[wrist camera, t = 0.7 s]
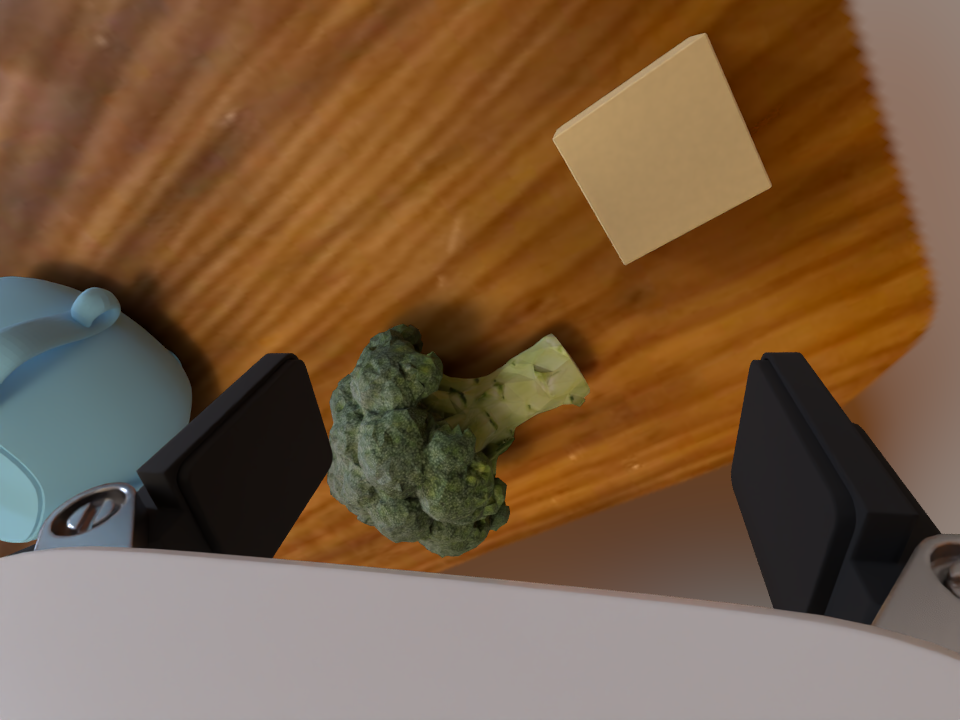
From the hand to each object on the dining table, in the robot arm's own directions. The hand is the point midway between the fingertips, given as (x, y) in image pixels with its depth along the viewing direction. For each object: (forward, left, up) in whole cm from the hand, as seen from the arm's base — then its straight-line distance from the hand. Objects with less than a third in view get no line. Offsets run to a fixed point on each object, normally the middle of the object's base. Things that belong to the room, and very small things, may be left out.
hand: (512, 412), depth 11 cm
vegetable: (+12, 0, -18) cm, 22 cm away
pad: (-4, +2, -18) cm, 19 cm away
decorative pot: (+26, -23, -18) cm, 39 cm away
